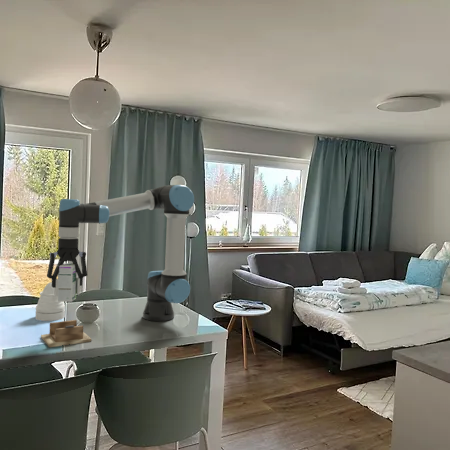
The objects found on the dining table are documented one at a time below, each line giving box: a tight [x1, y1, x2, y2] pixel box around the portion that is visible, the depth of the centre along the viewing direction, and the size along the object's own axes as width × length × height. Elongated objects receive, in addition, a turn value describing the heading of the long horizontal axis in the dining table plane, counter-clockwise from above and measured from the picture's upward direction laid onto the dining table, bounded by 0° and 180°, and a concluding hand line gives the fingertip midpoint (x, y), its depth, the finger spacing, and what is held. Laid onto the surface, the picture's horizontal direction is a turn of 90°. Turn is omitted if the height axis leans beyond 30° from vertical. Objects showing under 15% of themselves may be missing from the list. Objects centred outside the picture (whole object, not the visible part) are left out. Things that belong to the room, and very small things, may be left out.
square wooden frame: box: [40, 319, 93, 348], centre depth 174 cm, size 16×14×7 cm
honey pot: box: [35, 278, 66, 322], centre depth 205 cm, size 13×13×18 cm
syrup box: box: [57, 262, 77, 303], centre depth 173 cm, size 6×6×14 cm
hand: (66, 294), depth 173 cm, fingers closed on syrup box, 8 cm apart
